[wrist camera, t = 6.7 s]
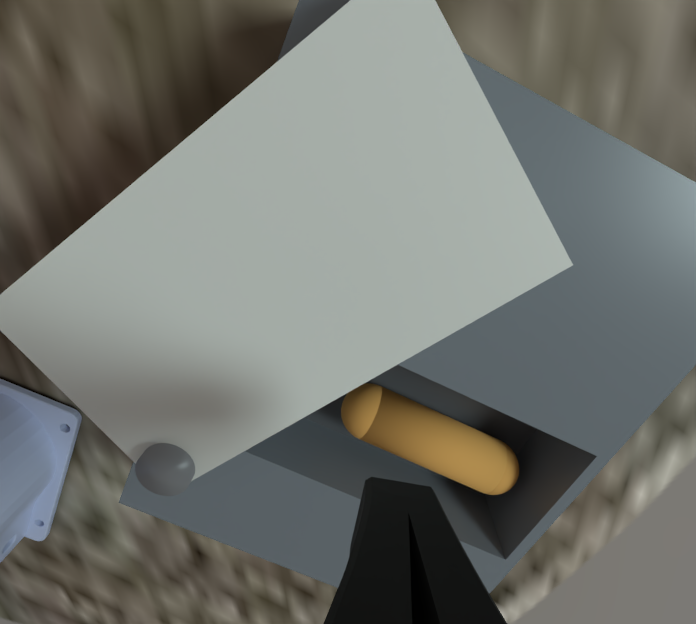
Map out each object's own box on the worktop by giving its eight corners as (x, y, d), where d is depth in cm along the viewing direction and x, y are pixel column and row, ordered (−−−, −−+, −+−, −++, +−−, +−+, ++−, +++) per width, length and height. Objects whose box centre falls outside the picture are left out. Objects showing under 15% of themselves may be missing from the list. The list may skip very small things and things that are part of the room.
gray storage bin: (440, 554, 23) (453, 632, 19) (163, 441, 21) (118, 502, 18) (704, 222, 16) (805, 243, 12) (326, 15, 14) (310, -33, 11)
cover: (543, 248, 13) (580, 269, 10) (190, 455, 16) (161, 504, 14) (403, -14, 11) (410, -59, 8) (32, 289, 14) (-32, 316, 12)
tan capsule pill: (510, 443, 20) (490, 490, 20) (351, 371, 19) (329, 419, 19) (539, 459, 18) (516, 513, 17) (359, 378, 17) (334, 434, 17)
